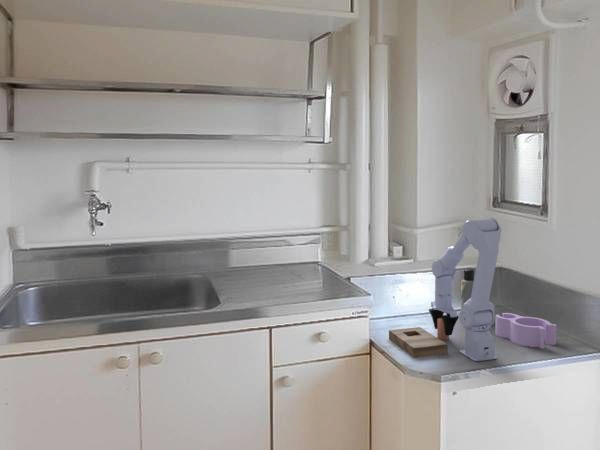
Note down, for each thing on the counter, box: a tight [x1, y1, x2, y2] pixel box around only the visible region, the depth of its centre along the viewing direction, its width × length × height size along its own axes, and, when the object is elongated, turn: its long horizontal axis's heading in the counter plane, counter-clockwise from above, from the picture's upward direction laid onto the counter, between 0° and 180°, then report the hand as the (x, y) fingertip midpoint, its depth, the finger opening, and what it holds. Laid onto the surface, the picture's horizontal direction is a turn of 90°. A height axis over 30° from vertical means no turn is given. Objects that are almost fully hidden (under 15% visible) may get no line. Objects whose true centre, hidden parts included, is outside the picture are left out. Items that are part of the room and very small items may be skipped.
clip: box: [494, 312, 557, 350], centre depth 190 cm, size 20×12×7 cm, turn 33°
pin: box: [436, 318, 450, 341], centre depth 192 cm, size 4×4×7 cm
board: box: [388, 326, 449, 358], centre depth 186 cm, size 20×12×3 cm, turn 14°
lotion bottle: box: [460, 267, 475, 311], centre depth 216 cm, size 6×6×20 cm
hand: (443, 331), depth 192 cm, fingers open, 7 cm apart
